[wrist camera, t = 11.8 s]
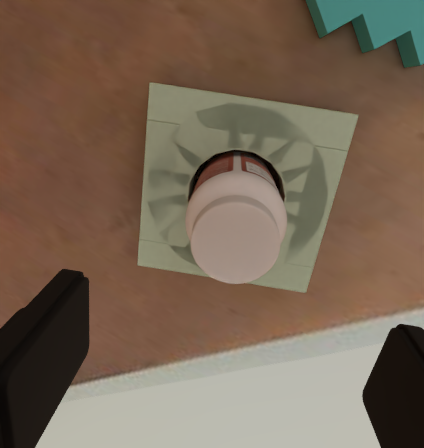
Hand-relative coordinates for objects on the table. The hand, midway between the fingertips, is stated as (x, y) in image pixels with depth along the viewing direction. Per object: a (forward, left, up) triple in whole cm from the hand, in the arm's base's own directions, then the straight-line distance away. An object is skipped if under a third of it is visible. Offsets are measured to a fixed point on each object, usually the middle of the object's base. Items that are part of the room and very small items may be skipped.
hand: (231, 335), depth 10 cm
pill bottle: (0, 0, -18) cm, 18 cm away
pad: (0, 0, -18) cm, 18 cm away
